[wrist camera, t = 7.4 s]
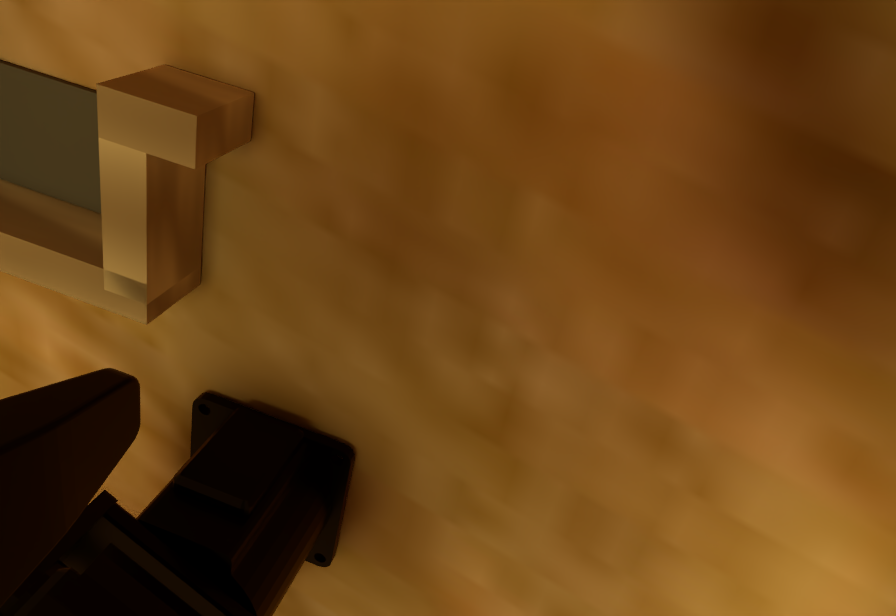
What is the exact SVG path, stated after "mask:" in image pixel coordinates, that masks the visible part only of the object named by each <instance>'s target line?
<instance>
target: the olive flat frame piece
mask: <svg viewBox="0 0 896 616" xmlns="http://www.w3.org/2000/svg"><path fill="white" fill-rule="evenodd" d="M96 85H97V111H98V138H99V164H100V190H101V214H100V213H98V212H95V211H92V210H89V209H86V208H83V207H80V206H77V205H75V204H72V203H69V202H66V201H63V200H60V199H57V198H54V197H52V196H49V195H46V194H43V193H40V192H37V191H34V190H31V189H29V188H26V187H23V186H20V185H17V184H14V183H11V182H8V181H6V180H3V179H0V271H2V272H4V273H7V274H10V275H13V276H15V277H18V278H21V279H24V280H26V281H29V282H32V283H34V284H37V285H40V286H43V287H45V288H48V289H51V290H53V291H56V292H59V293H62V294H64V295H67V296H70V297H73V298H75V299H78V300H81V301H83V302H86V303H89V304H92V305H94V306H97V307H100V308H102V309H105V310H108V311H111V312H113V313H116V314H119V315H122V316H124V317H127V318H130V319H132V320H135V321H138V322H141V323H143V324H146V325H147V324H148V323H150V322H151V321H152V320H154V319H155V318H156V317H158V316H159V315H160V314H162V313H163V312H164V311H166V310H167V309H168V308H169V307H171V306H172V305H173V304H175V303H176V302H177V301H179V300H180V299H181V298H183V297H184V296H185V295H187V294H188V293H189V292H191V291H192V290H193V289H195V288H196V287H197V286H198V285H200V281H201V257H202V234H203V210H204V187H205V164H207V163H209V162H210V161H212V160H214V159H216V158H218V157H220V156H222V155H224V154H226V153H228V152H230V151H232V150H234V149H236V148H238V147H240V146H242V145H243V144H245V143H247V142H249V141H251V131H252V118H253V105H254V92H251V91H247V90H244V89H241V88H238V87H235V86H231V85H228V84H225V83H222V82H219V81H215V80H212V79H209V78H206V77H203V76H199V75H196V74H193V73H190V72H187V71H183V70H180V69H177V68H174V67H171V66H167V65H161V66H158V67H154V68H151V69H147V70H144V71H140V72H137V73H133V74H130V75H126V76H123V77H119V78H116V79H112V80H108V81H105V82H101V83H98V84H96Z"/></svg>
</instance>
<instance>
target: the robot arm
mask: <svg viewBox="0 0 896 616" xmlns="http://www.w3.org/2000/svg"><path fill="white" fill-rule="evenodd" d="M206 405H207V406H208V407H209V408H208V407H207V406H206ZM139 427H140V384H139V382H138V380H137V378H135V377H134V376H132V375H129V374H126V373H124V372H121V371H118V370H116V369H112V368H106V369H101V370H98V371H94V372H91V373H88V374H84V375H81V376H78V377H74V378H71V379H68V380H64V381H61V382H58V383H54V384H51V385H48V386H44V387H41V388H38V389H34V390H31V391H28V392H24V393H21V394H18V395H14V396H11V397H8V398H4V399H1V400H0V616H272V615H273V614H274V612H275V610H276V609H277V607H278V605H279V604H280V602H281V600H282V599H283V597H284V595H285V593H286V592H287V590H288V588H289V587H290V585H291V583H292V582H293V580H294V578H295V576H296V575H297V573H298V571H299V570H300V568H301V566H302V565H303V563H304V561H308V562H310V563H313V564H315V565H318V566H321V567H327V566H329V565H330V564H331V562H332V560H333V558H334V557H335V554H336V549H337V544H338V539H339V534H340V529H341V524H342V519H343V514H344V509H345V504H346V499H347V494H348V489H349V484H350V480H351V475H352V470H353V465H354V460H355V454H354V452H353V450H352V449H351V448H350V447H349V446H348V445H346V444H344V443H341V442H339V441H336V440H333V439H331V438H328V437H326V436H323V435H320V434H318V433H315V432H312V431H310V430H307V429H304V428H302V427H299V426H296V425H294V424H291V423H288V422H286V421H283V420H280V419H278V418H275V417H272V416H270V415H267V414H264V413H262V412H259V411H256V410H254V409H251V408H248V407H246V406H243V405H240V404H238V403H235V402H233V401H230V400H227V399H225V398H222V397H219V396H217V395H214V394H211V393H207V392H206V393H202V394H201V395H200V396H199V397H198V398H197V399H196V400H195V401H194V402H193V407H192V431H191V456H190V459H189V460H188V461H187V462H186V463H185V464H184V465H183V467H182V468H181V469H180V470H179V471H178V472H177V473H176V474H175V476H174V477H173V479H172V480H171V481H170V482H169V483H168V484H167V485H166V486H165V487H164V488H163V490H162V491H161V492H160V493H159V494H158V495H157V496H156V497H155V498H154V499H153V501H152V502H151V503H150V504H149V505H148V506H147V507H146V508H145V509H144V510H143V511H142V513H141V514H140V515H139V516H138V517H137V518H134V517H133V516H132V515H131V514H129V513H128V512H127V511H126V510H125V509H123V508H122V507H121V506H120V505H118V504H117V503H116V502H117V501H118V500H117V499H116V498H115V497H113V496H112V495H111V494H110V493H108V492H107V491H106V490H104V491H103V492H102V493H101V494H100V495H98V496H97V497H96V498H95V499H94V500H93V501H92V502H91V503H90V504H89V505H88V503H89V502H90V501H91V499H92V498H93V497H94V495H95V494H96V492H97V491H98V490H99V488H100V487H101V486H102V484H103V483H104V481H105V480H106V479H107V477H108V476H109V474H110V473H111V472H112V470H113V469H114V468H115V466H116V465H117V463H118V462H119V461H120V459H121V458H122V457H123V455H124V454H125V452H126V451H127V450H128V448H129V447H130V446H131V444H132V443H133V441H134V440H135V438H136V436H137V434H138V431H139ZM338 455H340V456H341V457H343V459H342V458H340V457H338Z"/></svg>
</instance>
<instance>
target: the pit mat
mask: <svg viewBox="0 0 896 616" xmlns="http://www.w3.org/2000/svg"><path fill="white" fill-rule="evenodd" d="M0 179H3V180H6V181H8V182H11V183H14V184H17V185H20V186H23V187H26V188H29V189H31V190H34V191H37V192H40V193H43V194H46V195H49V196H52V197H54V198H57V199H60V200H63V201H66V202H69V203H72V204H75V205H77V206H80V207H83V208H86V209H89V210H92V211H95V212H98V213H100V214H101V190H100V164H99V138H98V111H97V91H95V90H92V89H89V88H86V87H83V86H79V85H76V84H73V83H70V82H67V81H64V80H61V79H58V78H55V77H52V76H48V75H45V74H42V73H39V72H36V71H33V70H30V69H27V68H24V67H21V66H17V65H14V64H11V63H8V62H5V61H2V60H0Z"/></svg>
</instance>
